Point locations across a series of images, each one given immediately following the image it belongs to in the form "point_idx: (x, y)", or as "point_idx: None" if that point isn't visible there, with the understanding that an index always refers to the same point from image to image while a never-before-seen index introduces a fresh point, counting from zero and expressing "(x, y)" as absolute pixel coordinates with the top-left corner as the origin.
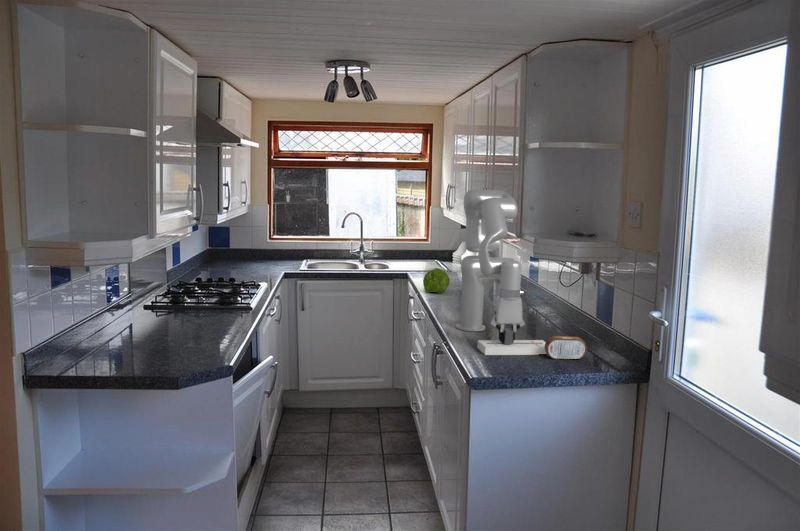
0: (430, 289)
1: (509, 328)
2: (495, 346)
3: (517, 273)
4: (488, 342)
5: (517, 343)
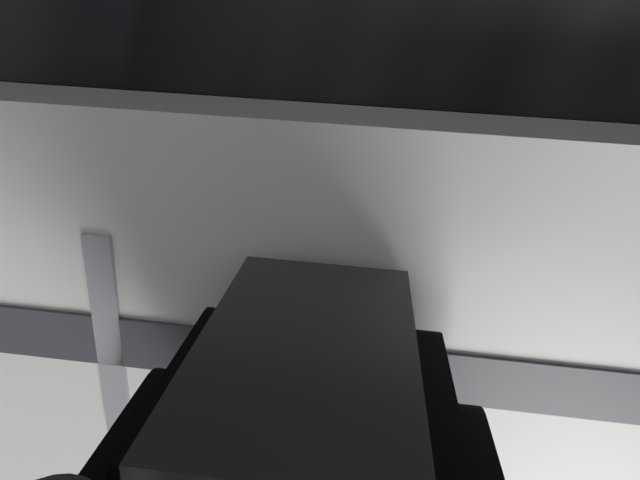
0: None
1: None
2: None
3: None
4: (19, 267)
5: (522, 405)
